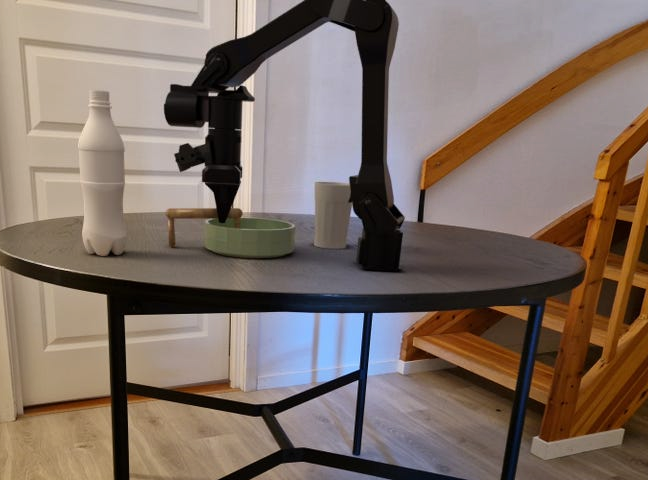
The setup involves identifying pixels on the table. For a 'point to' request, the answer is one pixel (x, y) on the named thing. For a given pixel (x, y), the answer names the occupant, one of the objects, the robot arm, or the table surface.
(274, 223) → the bowl
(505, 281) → the table surface
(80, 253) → the table surface
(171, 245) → the wooden dowel frame
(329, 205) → the cup
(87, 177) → the water bottle
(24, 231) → the table surface
